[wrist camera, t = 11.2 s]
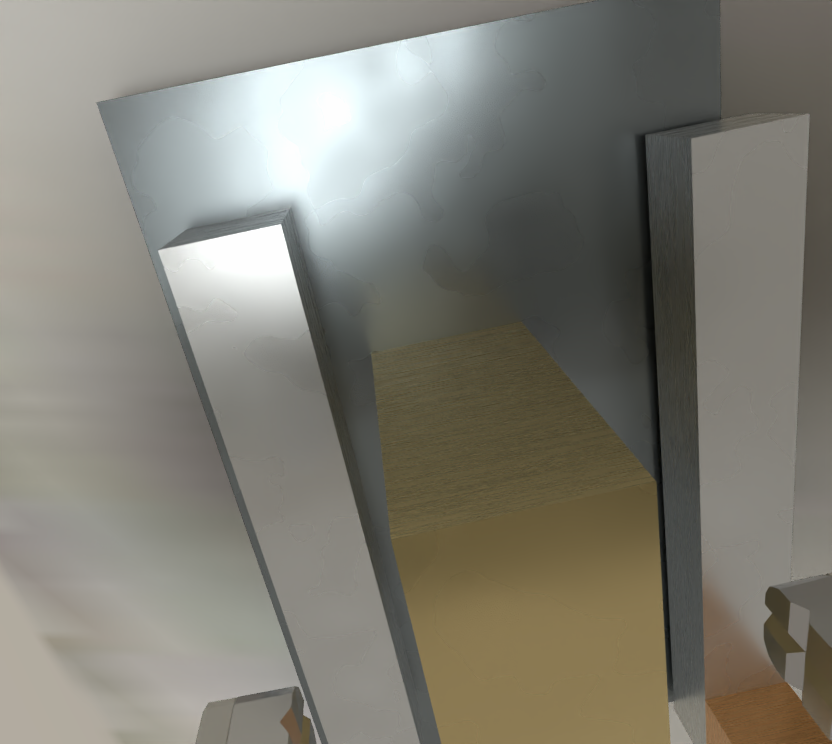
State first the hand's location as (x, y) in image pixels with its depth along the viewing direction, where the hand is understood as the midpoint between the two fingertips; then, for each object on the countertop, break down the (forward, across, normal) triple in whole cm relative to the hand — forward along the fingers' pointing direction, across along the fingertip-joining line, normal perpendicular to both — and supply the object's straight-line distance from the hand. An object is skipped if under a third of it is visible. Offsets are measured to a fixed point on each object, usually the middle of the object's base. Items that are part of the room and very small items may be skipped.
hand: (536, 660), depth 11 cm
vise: (+9, 0, +1) cm, 9 cm away
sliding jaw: (+7, -7, +2) cm, 10 cm away
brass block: (+8, 0, +1) cm, 8 cm away
